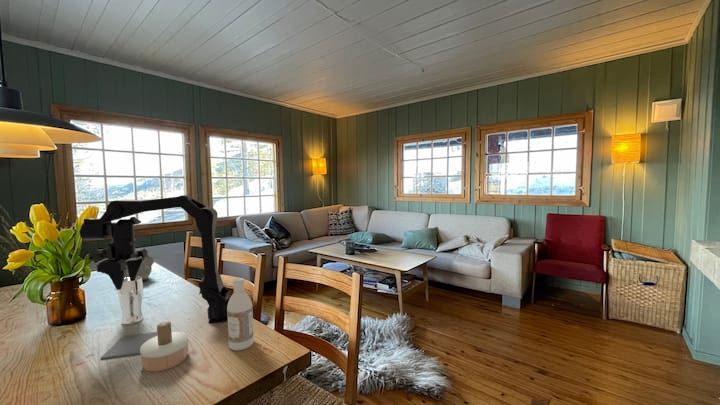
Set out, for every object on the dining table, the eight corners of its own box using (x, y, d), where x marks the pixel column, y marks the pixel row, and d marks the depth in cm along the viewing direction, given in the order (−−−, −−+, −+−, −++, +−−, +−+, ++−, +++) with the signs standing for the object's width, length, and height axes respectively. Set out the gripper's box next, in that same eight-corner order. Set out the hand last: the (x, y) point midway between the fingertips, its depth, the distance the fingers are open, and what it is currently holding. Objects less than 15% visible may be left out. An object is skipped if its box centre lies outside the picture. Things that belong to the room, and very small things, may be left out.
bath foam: (223, 349, 86) (220, 282, 85) (239, 337, 93) (237, 274, 91) (243, 353, 84) (240, 284, 83) (258, 340, 91) (256, 276, 89)
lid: (193, 333, 88) (192, 313, 87) (180, 354, 77) (179, 331, 76) (151, 338, 85) (150, 317, 85) (131, 361, 74) (130, 337, 74)
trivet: (166, 332, 96) (166, 330, 96) (149, 353, 85) (149, 351, 85) (124, 337, 94) (123, 335, 94) (100, 359, 82) (100, 357, 82)
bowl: (192, 347, 87) (191, 334, 87) (179, 368, 78) (179, 354, 77) (153, 352, 85) (152, 339, 85) (136, 374, 75) (135, 359, 75)
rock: (120, 289, 135) (118, 257, 134) (114, 280, 148) (112, 250, 147) (158, 281, 146) (156, 251, 145) (149, 273, 158) (148, 245, 157)
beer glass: (131, 326, 100) (129, 282, 100) (114, 324, 102) (112, 281, 101) (149, 317, 107) (147, 276, 106) (133, 315, 109) (131, 275, 108)
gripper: (111, 234, 104) (113, 277, 105) (73, 245, 86) (77, 298, 87) (147, 233, 106) (149, 275, 107) (118, 243, 88) (121, 294, 89)
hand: (126, 284), depth 98 cm, fingers open, 8 cm apart
